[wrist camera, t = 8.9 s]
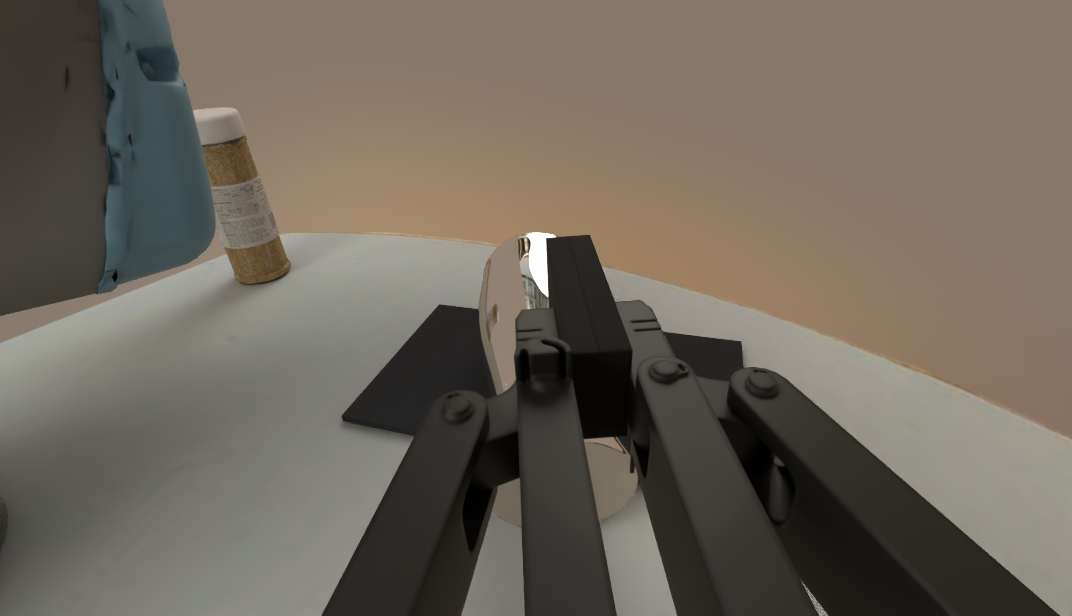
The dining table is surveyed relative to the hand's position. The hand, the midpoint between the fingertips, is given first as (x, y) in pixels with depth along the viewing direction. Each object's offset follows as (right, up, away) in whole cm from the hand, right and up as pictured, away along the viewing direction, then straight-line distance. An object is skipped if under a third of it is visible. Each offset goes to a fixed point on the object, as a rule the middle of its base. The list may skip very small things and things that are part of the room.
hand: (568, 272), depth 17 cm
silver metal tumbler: (0, -8, +2) cm, 9 cm away
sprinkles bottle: (-25, +2, +26) cm, 36 cm away
